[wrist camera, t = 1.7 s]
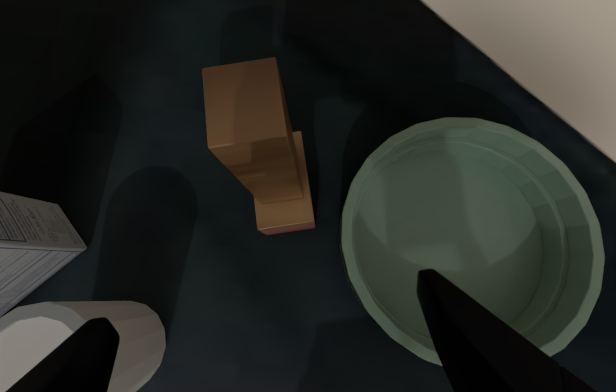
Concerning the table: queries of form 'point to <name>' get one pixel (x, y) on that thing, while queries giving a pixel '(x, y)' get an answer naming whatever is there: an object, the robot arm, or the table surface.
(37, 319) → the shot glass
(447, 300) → the robot arm
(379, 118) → the table surface
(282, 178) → the brown stepped block
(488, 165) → the bowl
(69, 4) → the table surface
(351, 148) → the table surface
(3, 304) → the medicine box
